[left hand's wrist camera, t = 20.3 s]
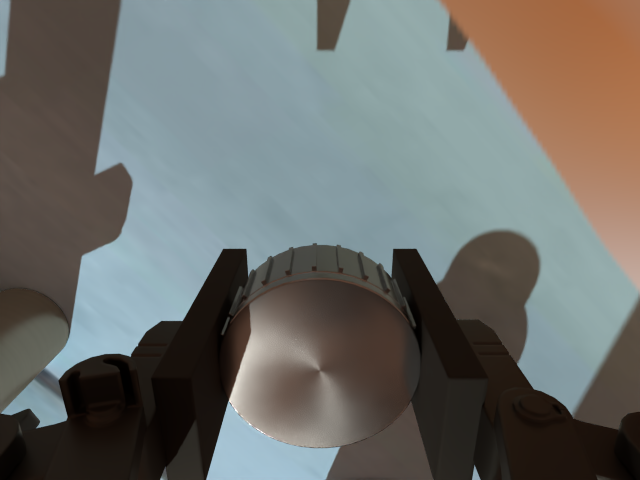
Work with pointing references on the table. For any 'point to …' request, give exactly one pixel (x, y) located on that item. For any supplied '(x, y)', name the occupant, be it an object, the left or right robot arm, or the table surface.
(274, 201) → the table surface
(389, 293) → the lid
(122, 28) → the table surface
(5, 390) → the grey metal cylinder
